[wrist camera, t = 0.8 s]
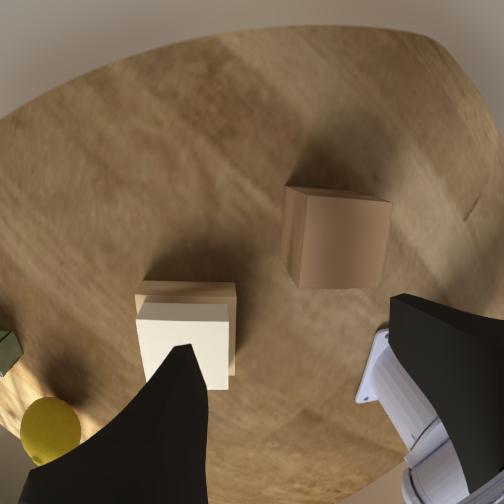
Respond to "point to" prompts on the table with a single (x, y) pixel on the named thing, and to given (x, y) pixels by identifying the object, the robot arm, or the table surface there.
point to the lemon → (49, 430)
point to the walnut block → (333, 238)
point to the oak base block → (194, 301)
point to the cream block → (186, 337)
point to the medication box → (8, 351)
